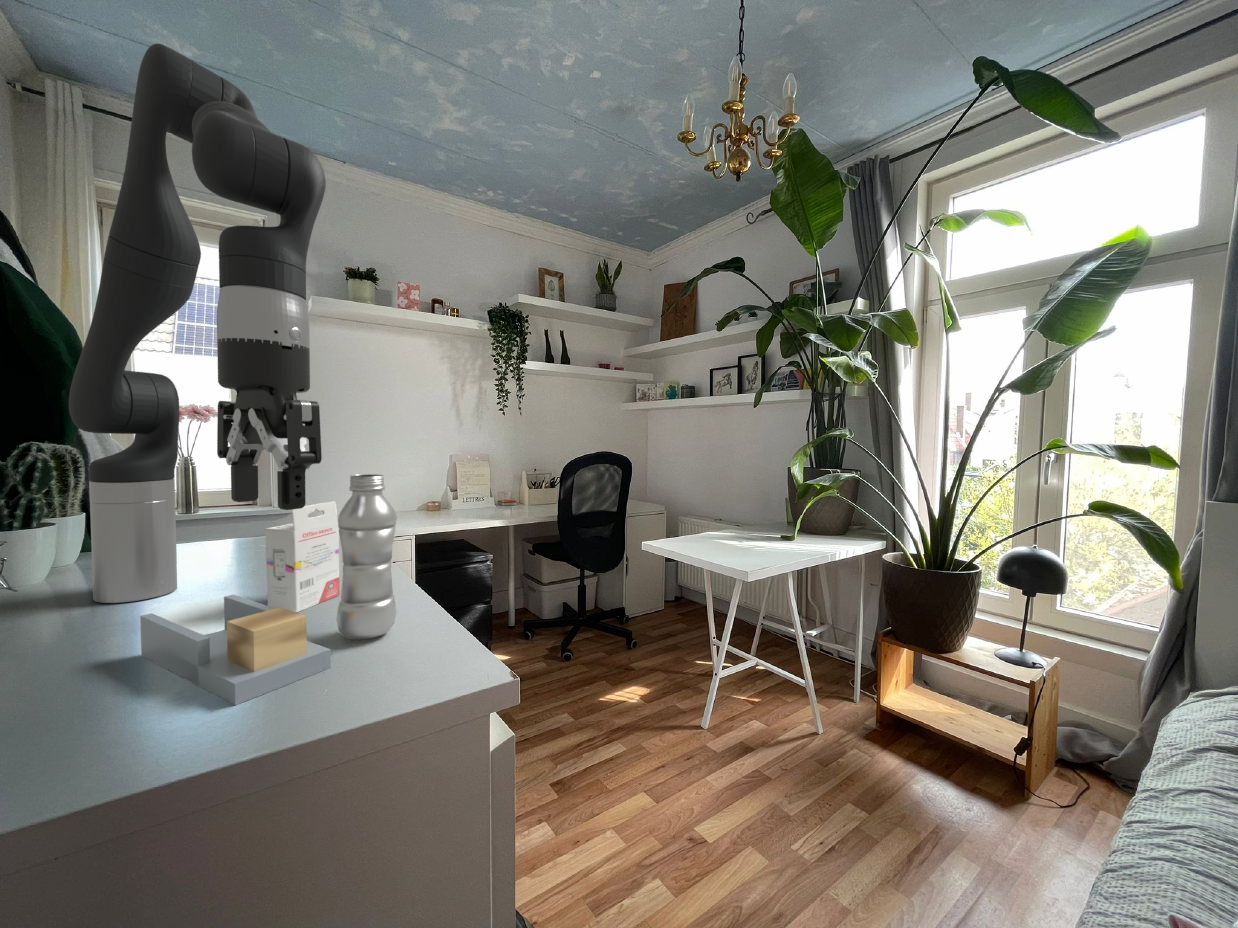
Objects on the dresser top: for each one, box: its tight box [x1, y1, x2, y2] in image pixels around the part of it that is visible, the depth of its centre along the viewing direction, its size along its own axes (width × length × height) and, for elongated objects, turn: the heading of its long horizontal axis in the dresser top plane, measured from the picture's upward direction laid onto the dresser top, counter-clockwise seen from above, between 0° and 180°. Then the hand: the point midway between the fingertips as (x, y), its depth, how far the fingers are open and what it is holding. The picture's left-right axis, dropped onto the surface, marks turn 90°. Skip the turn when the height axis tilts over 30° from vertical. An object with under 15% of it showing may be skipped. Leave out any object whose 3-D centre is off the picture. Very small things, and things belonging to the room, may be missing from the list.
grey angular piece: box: [139, 594, 331, 706], centre depth 56 cm, size 20×9×4 cm, turn 61°
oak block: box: [227, 607, 308, 672], centre depth 53 cm, size 5×5×4 cm
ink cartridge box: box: [264, 500, 341, 613], centre depth 75 cm, size 9×5×15 cm, turn 168°
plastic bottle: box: [336, 473, 398, 640], centre depth 63 cm, size 6×7×20 cm
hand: (267, 504), depth 52 cm, fingers open, 8 cm apart
